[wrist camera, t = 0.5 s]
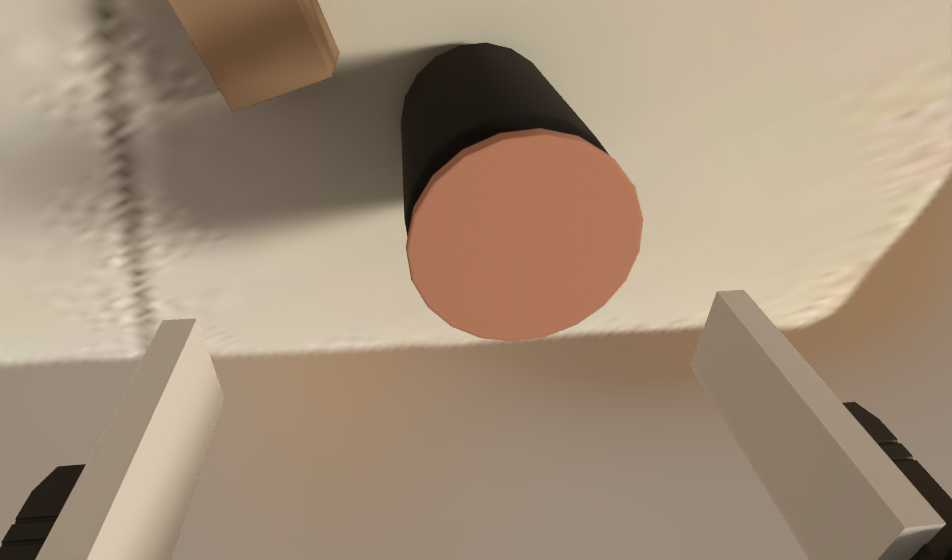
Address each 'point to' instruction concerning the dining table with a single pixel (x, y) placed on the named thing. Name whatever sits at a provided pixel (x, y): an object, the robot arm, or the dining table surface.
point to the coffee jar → (510, 199)
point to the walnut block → (259, 45)
